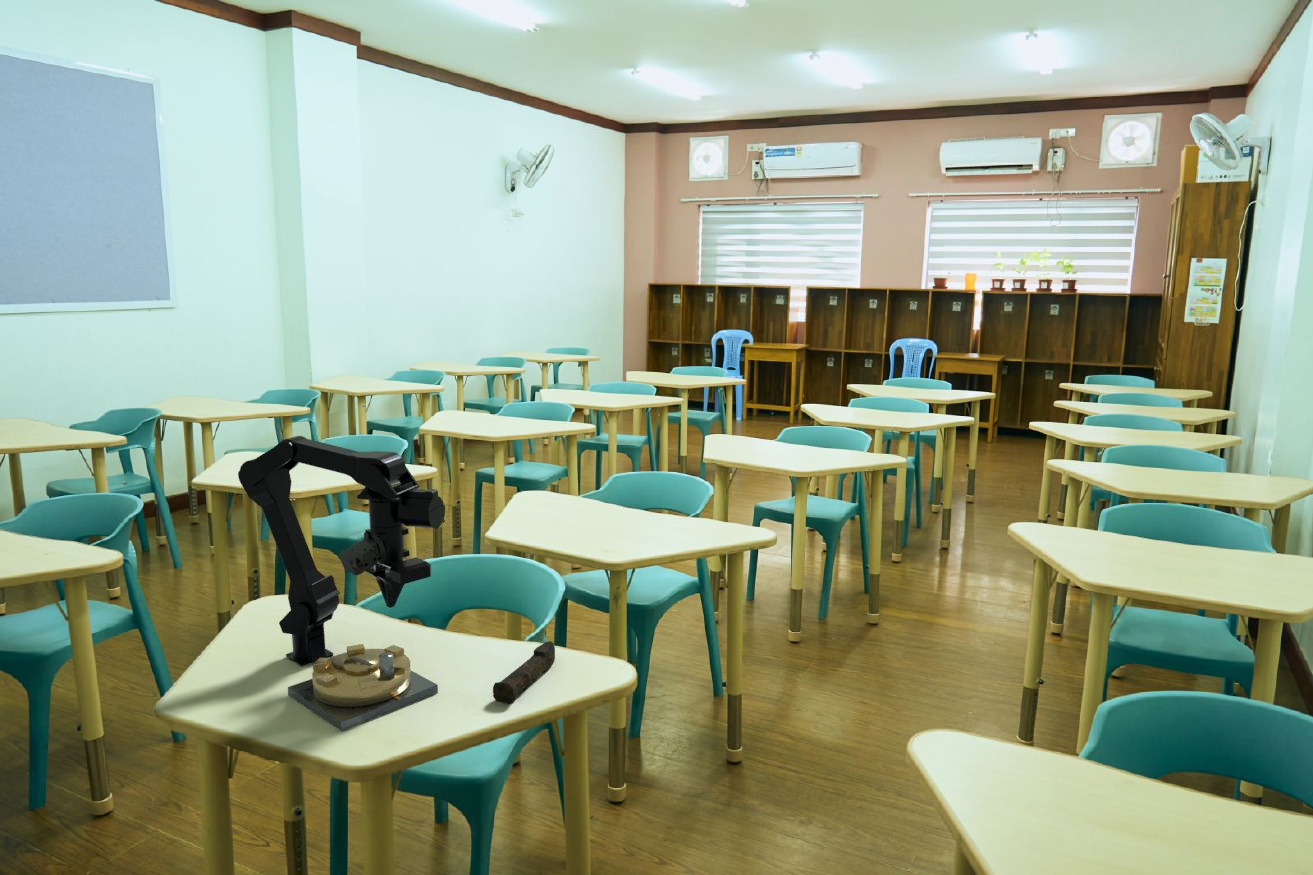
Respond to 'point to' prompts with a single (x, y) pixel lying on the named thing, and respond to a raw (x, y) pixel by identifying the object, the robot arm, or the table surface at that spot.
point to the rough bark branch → (525, 673)
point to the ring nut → (361, 676)
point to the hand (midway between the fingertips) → (390, 606)
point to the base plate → (360, 714)
